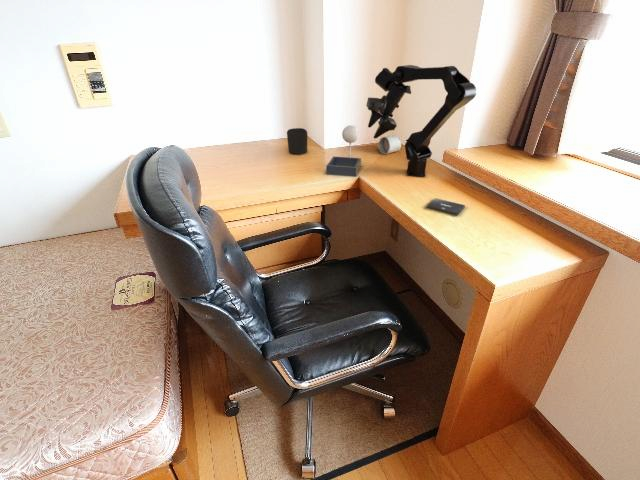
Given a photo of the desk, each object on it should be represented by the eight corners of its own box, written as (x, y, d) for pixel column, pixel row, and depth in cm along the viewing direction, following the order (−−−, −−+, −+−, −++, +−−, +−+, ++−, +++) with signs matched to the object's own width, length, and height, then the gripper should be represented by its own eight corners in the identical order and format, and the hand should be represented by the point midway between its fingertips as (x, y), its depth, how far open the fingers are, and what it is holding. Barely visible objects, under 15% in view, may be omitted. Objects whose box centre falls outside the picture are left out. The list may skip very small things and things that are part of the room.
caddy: (360, 166, 148) (361, 158, 146) (356, 176, 138) (356, 167, 136) (333, 164, 151) (333, 156, 149) (326, 174, 141) (326, 165, 139)
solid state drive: (458, 215, 108) (458, 213, 108) (426, 207, 113) (427, 205, 113) (464, 207, 113) (465, 205, 113) (434, 199, 118) (435, 197, 118)
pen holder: (311, 150, 167) (311, 129, 162) (300, 156, 160) (299, 134, 155) (295, 148, 171) (294, 127, 166) (284, 153, 165) (282, 131, 159)
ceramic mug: (401, 152, 162) (403, 136, 158) (388, 156, 159) (390, 138, 155) (386, 147, 170) (387, 131, 166) (373, 150, 166) (374, 134, 162)
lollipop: (356, 157, 158) (358, 123, 150) (358, 162, 152) (360, 127, 144) (341, 158, 158) (341, 123, 150) (342, 163, 151) (343, 127, 144)
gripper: (370, 80, 139) (350, 115, 148) (383, 100, 126) (360, 137, 135) (392, 91, 143) (371, 124, 152) (407, 111, 130) (383, 146, 139)
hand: (371, 132), depth 145 cm, fingers open, 9 cm apart
